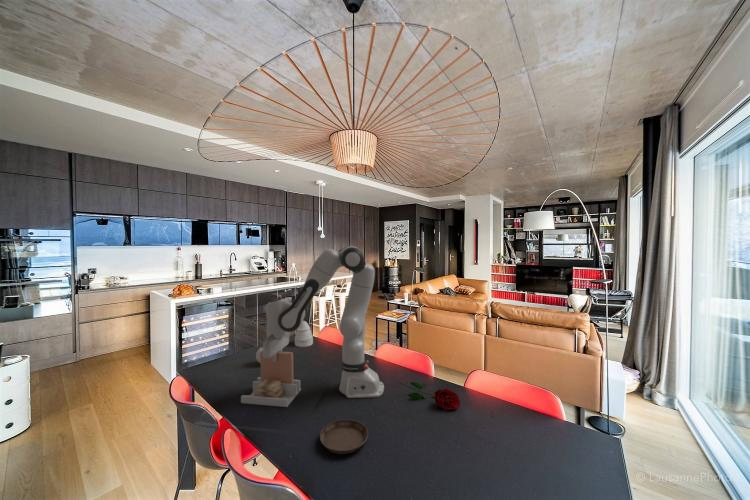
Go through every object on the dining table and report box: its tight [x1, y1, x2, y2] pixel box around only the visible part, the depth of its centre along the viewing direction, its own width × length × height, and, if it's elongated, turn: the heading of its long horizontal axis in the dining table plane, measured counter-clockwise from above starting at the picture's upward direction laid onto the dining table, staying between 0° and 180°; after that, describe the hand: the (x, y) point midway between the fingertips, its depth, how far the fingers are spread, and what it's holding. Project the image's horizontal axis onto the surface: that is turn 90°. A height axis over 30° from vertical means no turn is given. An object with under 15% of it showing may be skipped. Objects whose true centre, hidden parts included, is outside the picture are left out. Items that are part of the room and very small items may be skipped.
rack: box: [240, 376, 302, 408], centre depth 136 cm, size 22×16×6 cm
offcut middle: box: [256, 386, 283, 398], centre depth 133 cm, size 10×6×2 cm, turn 82°
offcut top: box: [258, 380, 281, 392], centre depth 133 cm, size 8×6×2 cm
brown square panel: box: [259, 351, 295, 384], centre depth 139 cm, size 16×2×18 cm, turn 82°
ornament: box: [255, 344, 263, 364], centre depth 175 cm, size 10×10×12 cm
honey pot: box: [294, 320, 314, 348], centre depth 209 cm, size 13×13×18 cm
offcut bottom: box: [255, 391, 285, 398], centre depth 133 cm, size 12×6×2 cm, turn 82°
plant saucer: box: [319, 419, 369, 455], centre depth 106 cm, size 18×18×3 cm
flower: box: [398, 379, 461, 411], centre depth 133 cm, size 9×9×30 cm
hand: (276, 360), depth 139 cm, fingers closed on brown square panel, 2 cm apart
